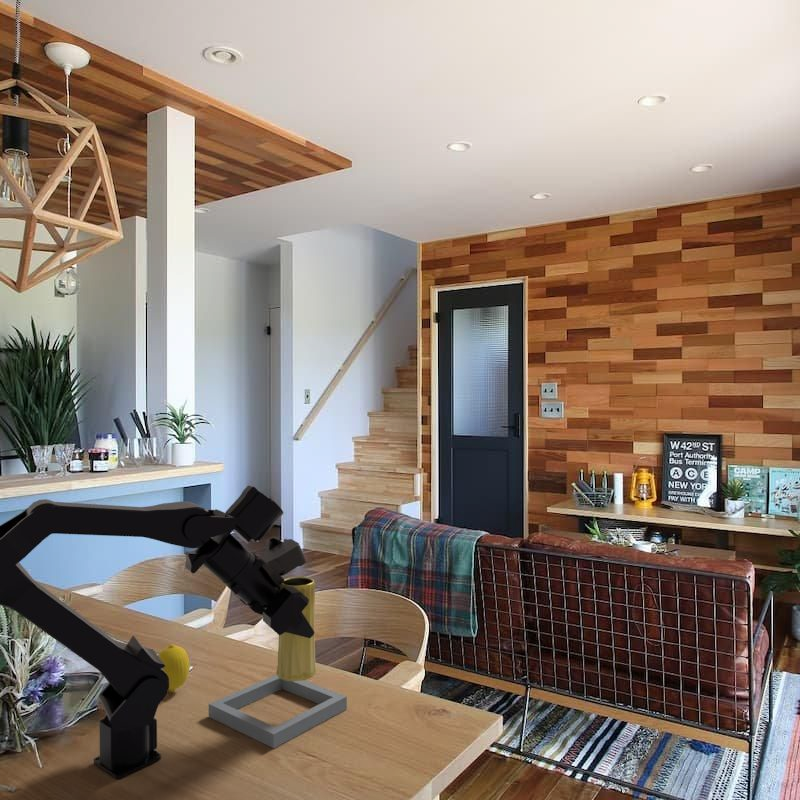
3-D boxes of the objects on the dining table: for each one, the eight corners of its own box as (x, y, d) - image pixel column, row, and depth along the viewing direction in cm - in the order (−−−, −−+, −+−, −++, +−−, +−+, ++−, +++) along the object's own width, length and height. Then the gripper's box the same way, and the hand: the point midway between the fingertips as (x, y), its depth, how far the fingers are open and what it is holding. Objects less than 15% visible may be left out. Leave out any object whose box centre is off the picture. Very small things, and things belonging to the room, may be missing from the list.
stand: (273, 748, 96) (273, 734, 96) (208, 716, 105) (208, 703, 105) (346, 709, 107) (346, 696, 107) (282, 683, 117) (282, 671, 117)
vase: (320, 666, 108) (321, 576, 108) (311, 683, 102) (312, 587, 102) (282, 664, 109) (283, 575, 108) (271, 680, 102) (272, 585, 102)
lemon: (179, 700, 110) (178, 651, 110) (148, 697, 111) (147, 649, 111) (195, 686, 116) (195, 639, 116) (166, 683, 117) (165, 637, 117)
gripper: (296, 536, 95) (365, 604, 101) (254, 514, 111) (316, 574, 117) (239, 600, 91) (315, 667, 97) (204, 568, 107) (271, 627, 113)
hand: (305, 629), depth 106 cm, fingers closed on vase, 5 cm apart
